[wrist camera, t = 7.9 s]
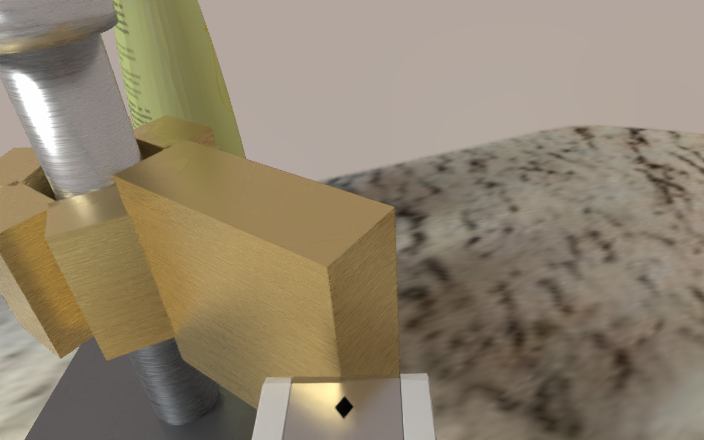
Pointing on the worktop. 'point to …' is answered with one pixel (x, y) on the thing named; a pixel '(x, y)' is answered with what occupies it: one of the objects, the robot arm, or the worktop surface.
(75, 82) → the post
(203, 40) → the tube
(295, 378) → the robot arm
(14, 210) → the tan nut with handle
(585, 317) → the worktop surface
